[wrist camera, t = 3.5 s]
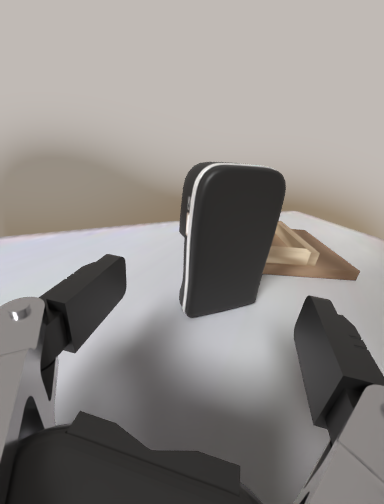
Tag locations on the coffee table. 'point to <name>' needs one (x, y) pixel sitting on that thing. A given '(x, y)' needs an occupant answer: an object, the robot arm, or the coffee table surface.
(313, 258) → the board
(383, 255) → the coffee table surface
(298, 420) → the coffee table surface
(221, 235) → the battery charger
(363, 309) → the coffee table surface
